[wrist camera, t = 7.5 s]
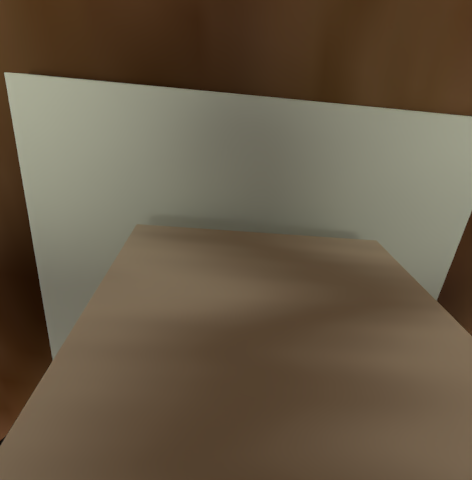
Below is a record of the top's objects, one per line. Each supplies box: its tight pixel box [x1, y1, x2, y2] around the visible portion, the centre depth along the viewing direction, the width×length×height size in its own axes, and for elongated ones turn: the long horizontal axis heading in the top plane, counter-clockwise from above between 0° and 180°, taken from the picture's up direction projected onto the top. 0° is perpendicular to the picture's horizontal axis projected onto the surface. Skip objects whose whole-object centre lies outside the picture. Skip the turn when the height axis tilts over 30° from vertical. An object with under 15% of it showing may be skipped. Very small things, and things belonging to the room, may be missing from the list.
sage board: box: [4, 72, 472, 359], centre depth 11 cm, size 12×12×1 cm
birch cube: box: [0, 224, 472, 480], centre depth 7 cm, size 6×6×6 cm
